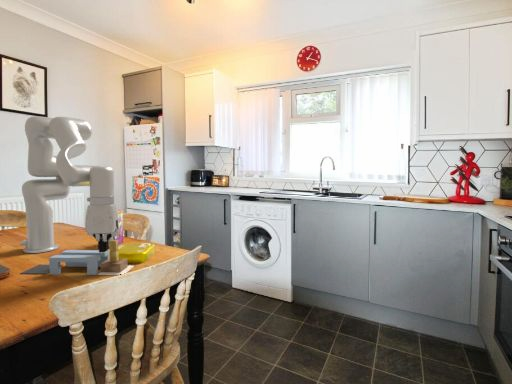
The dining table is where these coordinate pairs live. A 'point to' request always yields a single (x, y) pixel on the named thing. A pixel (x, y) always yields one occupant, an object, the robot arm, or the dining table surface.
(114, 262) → the tan boxy piece
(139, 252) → the element tile
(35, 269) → the pad
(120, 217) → the candy bar box
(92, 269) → the tunnel
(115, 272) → the tile
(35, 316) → the dining table surface
